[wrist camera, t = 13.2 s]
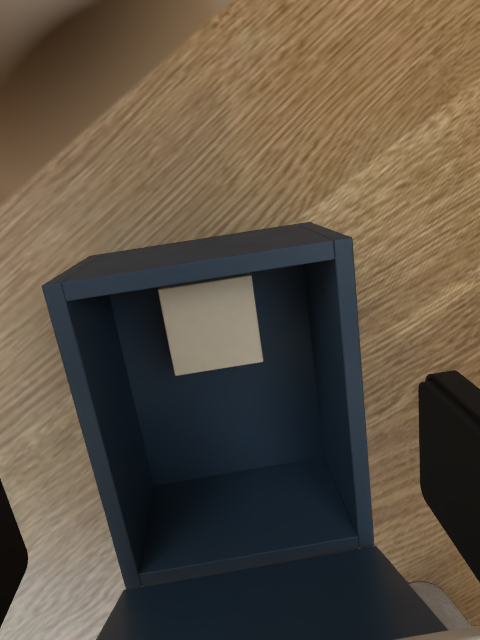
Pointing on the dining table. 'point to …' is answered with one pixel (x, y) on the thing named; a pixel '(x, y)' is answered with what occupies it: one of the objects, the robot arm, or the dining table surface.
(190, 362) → the block
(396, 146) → the dining table surface
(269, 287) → the file box
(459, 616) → the house plant
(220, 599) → the lid
